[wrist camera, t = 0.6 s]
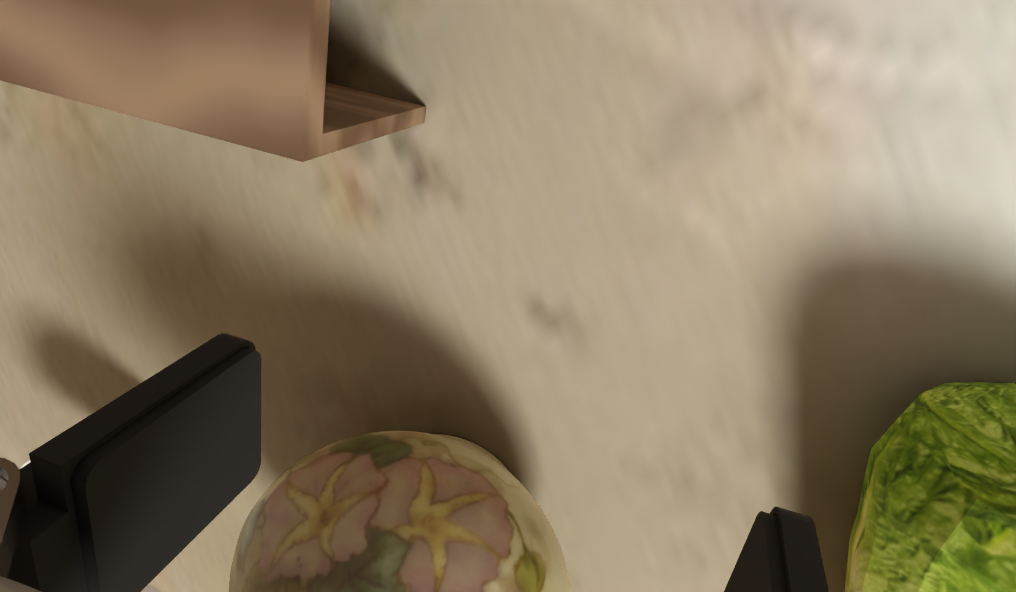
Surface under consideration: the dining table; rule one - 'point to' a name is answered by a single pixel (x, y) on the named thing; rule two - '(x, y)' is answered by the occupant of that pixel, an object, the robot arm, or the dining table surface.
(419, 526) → the pitcher
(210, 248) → the dining table surface
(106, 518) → the robot arm
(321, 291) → the dining table surface
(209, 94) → the shelf
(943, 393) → the lettuce
